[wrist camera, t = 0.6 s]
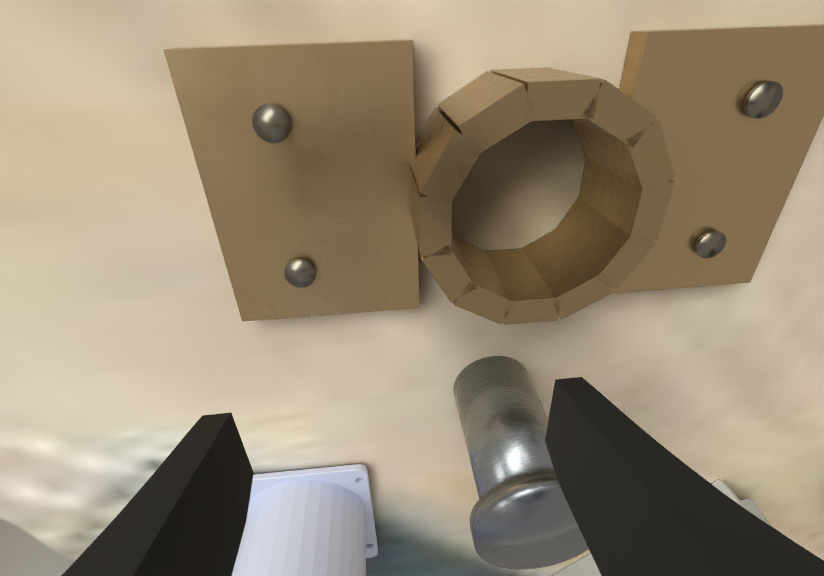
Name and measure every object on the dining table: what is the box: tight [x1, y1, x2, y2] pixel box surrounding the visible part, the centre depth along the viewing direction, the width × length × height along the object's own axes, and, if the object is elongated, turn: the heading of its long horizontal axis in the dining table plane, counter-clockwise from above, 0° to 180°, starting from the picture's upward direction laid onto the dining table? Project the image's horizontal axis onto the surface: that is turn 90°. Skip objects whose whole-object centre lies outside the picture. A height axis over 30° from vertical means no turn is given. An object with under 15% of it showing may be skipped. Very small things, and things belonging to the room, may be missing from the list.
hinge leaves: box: [164, 25, 824, 325], centre depth 15 cm, size 10×23×4 cm, turn 92°
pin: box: [454, 356, 589, 569], centre depth 19 cm, size 5×5×8 cm
